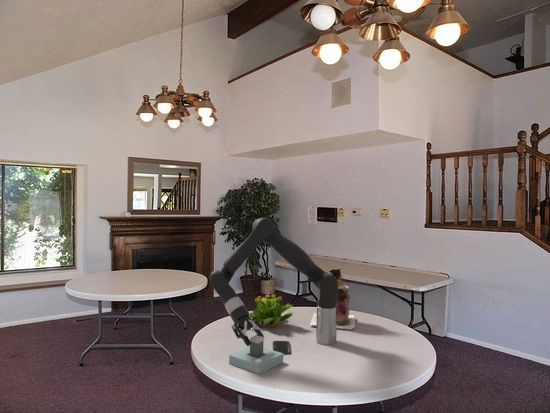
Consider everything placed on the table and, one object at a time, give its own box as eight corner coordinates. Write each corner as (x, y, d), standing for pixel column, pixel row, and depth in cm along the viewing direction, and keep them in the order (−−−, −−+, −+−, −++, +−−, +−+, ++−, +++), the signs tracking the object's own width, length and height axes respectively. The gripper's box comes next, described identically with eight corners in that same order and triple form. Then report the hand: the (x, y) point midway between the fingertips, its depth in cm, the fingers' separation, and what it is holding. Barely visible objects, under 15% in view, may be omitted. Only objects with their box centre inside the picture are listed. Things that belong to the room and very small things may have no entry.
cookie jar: (313, 315, 233) (315, 263, 233) (354, 318, 228) (356, 265, 229) (309, 327, 209) (311, 269, 209) (355, 331, 204) (356, 271, 204)
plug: (255, 358, 162) (256, 335, 162) (263, 361, 159) (263, 337, 159) (249, 361, 158) (250, 337, 159) (256, 364, 156) (257, 339, 156)
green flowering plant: (267, 315, 229) (268, 286, 229) (301, 323, 215) (302, 292, 216) (240, 325, 209) (241, 293, 209) (275, 334, 195) (276, 300, 195)
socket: (254, 352, 170) (254, 343, 170) (283, 361, 160) (283, 352, 160) (229, 363, 157) (229, 353, 157) (258, 374, 148) (259, 363, 148)
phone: (289, 341, 184) (290, 352, 169) (289, 343, 184) (290, 355, 169) (272, 340, 184) (272, 352, 169) (272, 343, 184) (272, 354, 169)
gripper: (230, 307, 159) (250, 341, 152) (252, 301, 170) (271, 333, 163) (220, 318, 162) (239, 351, 155) (243, 311, 173) (261, 342, 166)
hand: (256, 342), depth 159 cm, fingers open, 8 cm apart
